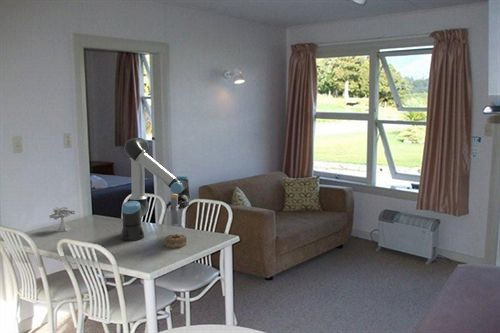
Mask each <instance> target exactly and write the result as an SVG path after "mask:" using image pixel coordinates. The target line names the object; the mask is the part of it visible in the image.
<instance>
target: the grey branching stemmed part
mask: <svg viewBox="0 0 500 333" xmlns="http://www.w3.org/2000/svg"><path fill="white" fill-rule="evenodd" d="M52 210H53V213H52V214H48V217H49V219H53V220H59V219H60V225H59V227H58V228H57V229H56V231H55V232H58V233H61V232H69V231H70V230H71V228H70V227H69V226H68V225H66V224H65V221H64V218H67V217H71V215H72V216H73V215H74V216H75V212H76V211H75V210H73V209H70V208H69V207H67V206H63V207H55V208H53V209H52Z"/></svg>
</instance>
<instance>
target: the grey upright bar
mask: <svg viewBox="0 0 500 333" xmlns="http://www.w3.org/2000/svg"><path fill="white" fill-rule="evenodd" d="M170 199H171V201H170V202H171V205H172V210H171V224H173V225H174V224H175V225H177V224H179V221H180V220H179V210H178V211H176V206H177V205H178V194H174V193H171V194H170Z"/></svg>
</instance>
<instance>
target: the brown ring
mask: <svg viewBox="0 0 500 333" xmlns="http://www.w3.org/2000/svg"><path fill="white" fill-rule="evenodd" d="M164 239H165V241H164V242H165V243H164V244H165V246H166V247H167V248H171V249H178V248H183V247H185V246H187V236H186V235H185V234H177V233H176V234H168V236H166V237H164Z"/></svg>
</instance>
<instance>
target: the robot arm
mask: <svg viewBox="0 0 500 333" xmlns="http://www.w3.org/2000/svg"><path fill="white" fill-rule="evenodd" d="M149 149H150V148H149V142H148V141H147V140H146V139H145V138H143V137H134V138H129V139H128V140H127V141H126V142H125V144H124V149H123V150H124V152H125V154H126V155H127V156H128V159H130V161H131V162H130V164H131V167H130V168H131V169H130V170H131V196H129V199H128V200H129V201H126V202H123V203H122V205H121V218H122V227H121V228H122V229H121V233H120V240H121V241H125V240H126V241H127V242H128V241H129V242H131V241H133V242H134V241H140V240H142V239H144V238H145V233H144V229H143V227H142V219H141V218H143V217H144V216H146V214H147V213H148V211H149V209H150V204H149V202H148V197H147V196H146V195H145V193H146V192H145V191H146V190H145V188H146V186H145V180H146V179H145V169H146V170H147V171H148V172H150V173H151V174H152V175H153V176H154V177H156V178H157V179H159V180H160V181H161V182H162V183H163V184H165V185H166V186H167V187H168V188H169V189H170V191H171V193H172V194H178V205H177V206H176V211H178V212H179V210H182V209H183V210H184V209H186V208H187V207H189V206H190V201H191V198H192V195H191V194H190V186H189V176H188V175H187V174H179V175H177V176H175V175H173V174H172V173H171V172H170V171H169V170H167V169H166V168H165V167H164V166H163V165H161V164H160V163H159V162H158V161H157V160H155V159H154V158H152V157H151V156H150V155H149V154H148V151H149ZM166 209H168V212H172V205H171V201H170V200H169V201H168V203H167V204H166Z"/></svg>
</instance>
